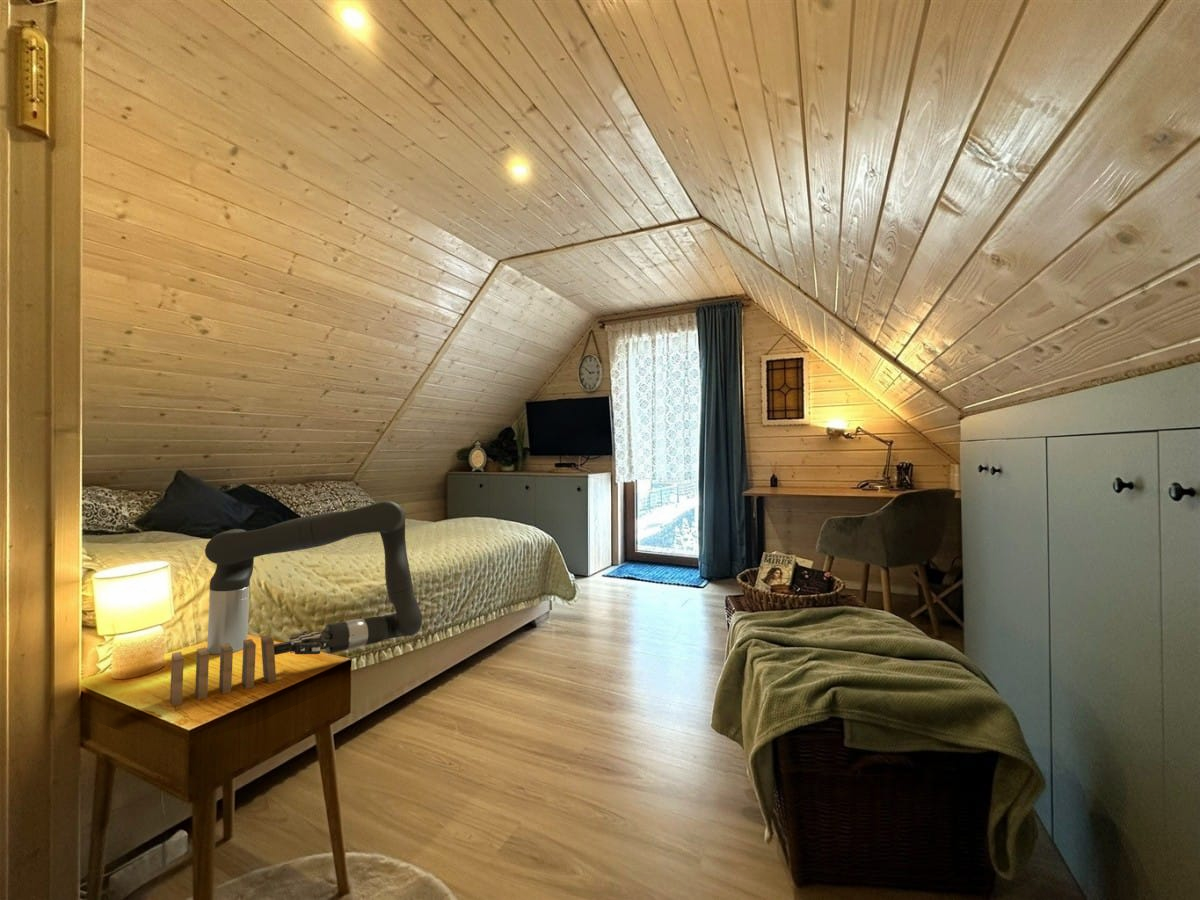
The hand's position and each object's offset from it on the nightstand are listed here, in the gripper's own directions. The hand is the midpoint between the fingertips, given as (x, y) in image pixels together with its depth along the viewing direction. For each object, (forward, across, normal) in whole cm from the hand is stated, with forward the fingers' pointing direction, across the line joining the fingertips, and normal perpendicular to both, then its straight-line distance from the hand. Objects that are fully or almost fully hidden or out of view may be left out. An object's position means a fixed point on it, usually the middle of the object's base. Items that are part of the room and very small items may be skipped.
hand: (272, 650), depth 130 cm
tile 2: (+5, 0, +7) cm, 9 cm away
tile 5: (+18, 0, +7) cm, 20 cm away
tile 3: (+9, 0, +7) cm, 12 cm away
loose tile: (0, 0, +7) cm, 7 cm away
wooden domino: (+14, 0, +7) cm, 16 cm away
